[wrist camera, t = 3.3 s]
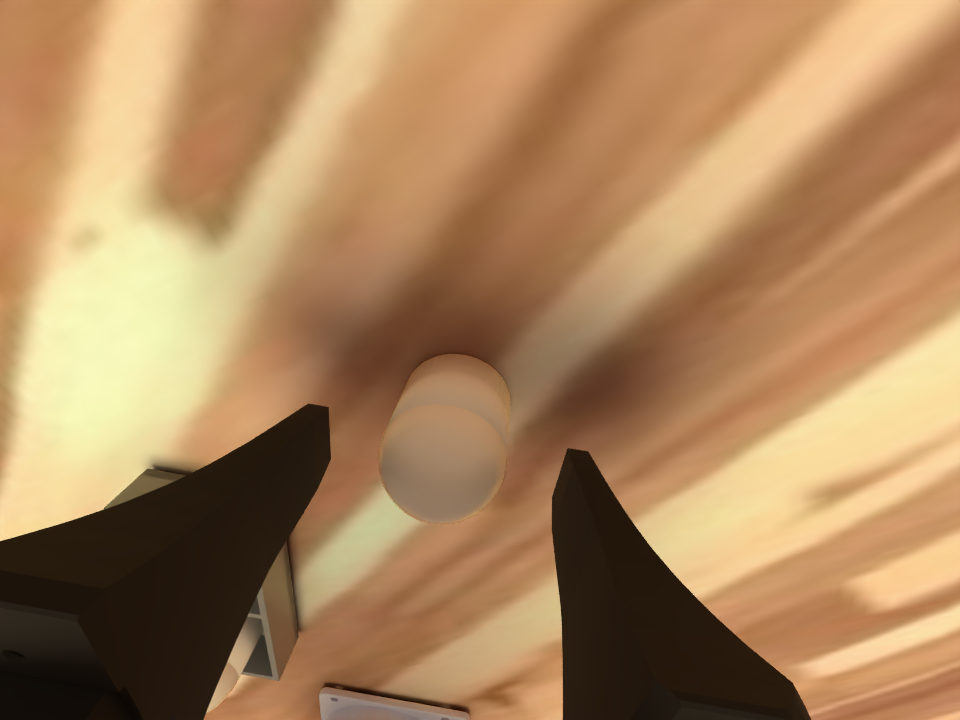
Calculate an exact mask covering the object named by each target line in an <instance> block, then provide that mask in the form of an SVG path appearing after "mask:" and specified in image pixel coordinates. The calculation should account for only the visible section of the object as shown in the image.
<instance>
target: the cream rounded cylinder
mask: <svg viewBox="0 0 960 720" xmlns="http://www.w3.org/2000/svg"><path fill="white" fill-rule="evenodd" d="M509 416H510V395H509V391H508V388H507V385H506V383H505V382H504V380H503V378H502V377H501V376H500V374H499V373H498V372H497V371H496V370H495V369H494V368H492V367H491V366H490V365H488V364H487V363H485V362H483V361H481V360H479V359H477V358H474V357H471V356H467V355H462V354H445V355H440V356H436V357H433V358H431V359H428V360H427V361H425V362H423V363H422V364H421V365H419V366H418V367H417V368H416V369H415V370H414V371H413V373H412V374H411V376H410V378H409V380H408V382H407V384H406V386H405V388H404V391H403V393H402V395H401V397H400V399H399V401H398V404H397V406H396V408H395V410H394V412H393V415H392V417H391V419H390V421H389V423H388V425H387V428H386V430H385V432H384V434H383V437H382V440H381V444H380V449H379V456H378V460H379V472H380V476H381V480H382V483H383V486H384V488H385V490H386V492H387V494H388V495H389V497H390V498H391V500H392V501H393V502H394V503H395V504H396V505H397V507H398V508H399V509H401V510H402V511H403V512H404V513H406V514H407V515H409V516H411V517H413V518H415V519H417V520H419V521H422V522H425V523H429V524H437V525H444V524H454V523H458V522H461V521H464V520H466V519H469V518H471V517H473V516H475V515H476V514H477V513H479V512H480V511H482V510H483V509H484V508H485V507H486V506H487V505H488V504H489V503H490V502H491V501H492V500H493V498H494V497H495V496H496V494H497V492H498V490H499V489H500V487H501V485H502V482H503V479H504V476H505V472H506V465H507V454H508V435H509Z"/></svg>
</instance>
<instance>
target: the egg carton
mask: <svg viewBox="0 0 960 720" xmlns="http://www.w3.org/2000/svg"><path fill="white" fill-rule="evenodd" d="M184 476H187V475H182V474H176V473H170V472H164V471H158V470H153V469H147V470H145V471H144V472H143V473H142V474H141V475H140V476H139V477H138V478H137V479H136V480H134V481H133V482H132V483H131V484H130V485H129V486H128V487H127V488H126V489H125V490H123V491H122V492H121V493H120V494H119V495H118V496H117V497H116V498H115V499H113V500H112V501H111V502H110V503H109V504H108V505H107V506H106V507H105V508H104V509H107V508H110V507H112V506H115V505H118V504H121V503H123V502H126V501H128V500H131V499H133V498H136V497H138V496H141V495H143V494H145V493H148V492H150V491H153V490H155V489H158V488H160V487H162V486H165V485H167V484H169V483H172V482H174V481H176V480H178V479H180V478H182V477H184ZM248 617H254V618H259V619H262V625H263V630H264V631H263V633H262V635H261V637H260V639H259V640H258V642H257V644H256V646H255V648H254V650H253V652H252V654H251V656H250V658H249V660H248V662H247V664H246V666H245V667H244V669H243V671H242V673H241V674H243V675H249V676H254V677H260V678H265V679H271V680H277V681H279V680H280V678H281V675H282V673H283V671H284V669H285V666H286V664H287V662H288V660H289V657H290V655H291V653H292V651H293V648H294V646H295V644H296V642H297V639H298V637H299V635H298V628H297V620H296V612H295V604H294V596H293V588H292V580H291V572H290V564H289V556H288V548H287V541H286V542H285V544H284V546H283V547H282V549H281V551H280V552H279V554H278V556H277V557H276V559H275V561H274V563H273V565H272V566H271V568H270V570H269V572H268V574H267V576H266V578H265V580H264V582H263V585H262V587H261V589H260V591H259V593H258V595H257V597H256V599H255V601H254V603H253V605H252V608H251V610H250V612H249V614H248Z"/></svg>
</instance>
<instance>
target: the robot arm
mask: <svg viewBox="0 0 960 720" xmlns="http://www.w3.org/2000/svg"><path fill="white" fill-rule="evenodd" d="M330 459H331V452H330V429H329V407H325V406H319V405H313V404H307V405H306V406H304V407H302V408H301V409H299V410H298V411H296V412H295V413H293V414H292V415H290V416H289V417H287V418H286V419H284V420H282V421H281V422H279V423H278V424H276V425H275V426H273V427H272V428H270V429H268V430H267V431H265V432H264V433H262V434H261V435H259V436H257V437H256V438H254V439H253V440H251V441H249V442H248V443H246V444H244V445H242V446H241V447H239V448H237V449H235V450H234V451H232V452H230V453H228V454H227V455H225V456H223V457H221V458H220V459H218V460H216V461H214V462H212V463H211V464H209V465H207V466H205V467H203V468H201V469H199V470H197V471H195V472H193V473H191V474H189V475H187V476H184V477H182V478H180V479H178V480H176V481H174V482H172V483H169V484H167V485H165V486H162V487H160V488H158V489H155V490H153V491H150V492H148V493H145V494H143V495H141V496H138V497H136V498H133V499H131V500H128V501H126V502H123V503H121V504H118V505H115V506H112V507H110V508H107V509H104V510H101V511H99V512H96V513H93V514H90V515H87V516H84V517H81V518H78V519H75V520H72V521H69V522H65V523H62V524H59V525H56V526H52V527H49V528H45V529H42V530H38V531H35V532H31V533H28V534H25V535H21V536H18V537H14V538H11V539H7V540H3V541H0V720H203V719H204V717H205V714H206V712H207V709H208V707H209V704H210V702H211V699H212V697H213V694H214V692H215V690H216V687H217V685H218V682H219V680H220V678H221V675H222V673H223V671H224V668H225V666H226V664H227V661H228V659H229V657H230V654H231V652H232V650H233V647H234V645H235V643H236V640H237V638H238V636H239V634H240V632H241V629H242V627H243V625H244V623H245V621H246V619H247V616H248V614H249V612H250V610H251V608H252V605H253V603H254V601H255V599H256V597H257V595H258V593H259V591H260V589H261V587H262V585H263V582H264V580H265V578H266V576H267V574H268V572H269V570H270V568H271V566H272V565H273V563H274V561H275V559H276V557H277V556H278V554H279V552H280V551H281V549H282V547H283V546H284V544H285V542H286V541H287V539H288V537H289V536H290V534H291V532H292V531H293V529H294V528H295V526H296V524H297V523H298V521H299V519H300V518H301V516H302V514H303V513H304V511H305V509H306V508H307V506H308V504H309V503H310V501H311V499H312V498H313V496H314V494H315V492H316V491H317V489H318V487H319V485H320V482H321V480H322V478H323V476H324V474H325V471H326V469H327V467H328V464H329V462H330ZM552 534H553V544H554V553H555V561H556V570H557V578H558V587H559V595H560V604H561V617H562V648H563V720H811V718H810V716H809V714H808V711H807V709H806V707H805V705H804V703H803V701H802V699H801V698H800V696H799V694H798V692H797V690H796V688H795V686H794V685H793V683H792V682H791V681H790V680H788V679H787V678H786V677H785V676H784V675H782V674H781V673H780V672H779V671H777V670H776V669H775V668H774V667H773V666H771V665H770V664H769V663H768V662H766V661H765V660H764V659H763V658H762V657H760V656H759V655H758V654H757V653H756V652H754V651H753V650H752V649H751V648H749V647H748V646H747V645H746V644H745V643H744V642H743V641H741V640H740V639H739V638H738V637H737V636H736V635H735V634H734V633H733V632H731V631H730V630H729V629H728V628H727V627H726V626H725V625H724V624H723V623H722V622H720V621H719V620H718V619H717V618H716V617H715V616H714V615H713V614H712V613H711V612H710V611H709V610H708V609H707V608H706V607H705V606H704V605H703V604H702V603H701V602H700V601H699V600H698V599H697V598H696V597H695V596H694V595H693V594H692V593H691V592H690V591H689V590H688V589H687V588H686V587H685V586H684V585H683V584H682V583H681V581H680V580H679V579H678V578H677V577H676V576H675V575H674V574H673V573H672V572H671V570H670V569H669V568H668V567H667V566H666V564H665V563H664V562H663V561H662V560H661V559H660V557H659V556H658V555H657V554H656V553H655V552H654V550H653V549H652V548H651V547H650V545H649V544H648V543H647V541H646V540H645V539H644V537H643V536H642V535H641V533H640V532H639V531H638V529H637V528H636V527H635V525H634V524H633V522H632V521H631V519H630V518H629V517H628V515H627V514H626V512H625V511H624V509H623V508H622V506H621V504H620V503H619V501H618V500H617V498H616V497H615V495H614V494H613V492H612V490H611V489H610V487H609V486H608V484H607V482H606V481H605V479H604V477H603V476H602V474H601V472H600V470H599V469H598V467H597V465H596V464H595V462H594V460H593V458H592V457H591V455H590V454H589V452H588V451H582V450H576V449H570V448H568V449H567V452H566V455H565V458H564V461H563V464H562V468H561V471H560V474H559V477H558V480H557V483H556V487H555V490H554V493H553V496H552ZM319 702H320V713H321V720H470V715H469V714H468V713H466V712H463V711H458V710H452V709H447V708H441V707H436V706H430V705H424V704H419V703H413V702H408V701H402V700H397V699H391V698H385V697H380V696H374V695H369V694H363V693H358V692H352V691H346V690H341V689H335V688H330V687H324V688H322V689H321V691H320V694H319Z"/></svg>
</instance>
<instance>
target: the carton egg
mask: <svg viewBox="0 0 960 720" xmlns="http://www.w3.org/2000/svg"><path fill="white" fill-rule="evenodd" d="M263 631H264V630H263V625H262V619H259V618H254V617H248V616H247V619H246V621H245V623H244V625H243V627H242V629H241V632H240V634H239V636H238V638H237V640H236V643H235V645H234V647H233V650H232V652H231V654H230V657H229V659H228V661H227V664H226V666H225V668H224V671H223V673H222V675H221V678H220V680H219V682H218V685H217V687H216V690H215V692H214V694H213V697H212V699H211V702H210V704H209V707H208V709H207V712H206V713H208V712H210V711H211V710H213V709H214V708H215V707H217V706H218V705H219V704H220V703H221V702H222V701H223V700H224V699H225V698H226V697H227V696H228V695H229V693H230V692H231V691H232V689H233V688H234V686H235V685H236V683H237V681H238V679H239V677H240V675H241V673H242V671H243V669H244V667H245V666H246V664H247V662H248V660H249V658H250V656H251V654H252V652H253V650H254V648H255V646H256V644H257V642H258V640H259V639H260V637H261V635H262V633H263Z"/></svg>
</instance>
